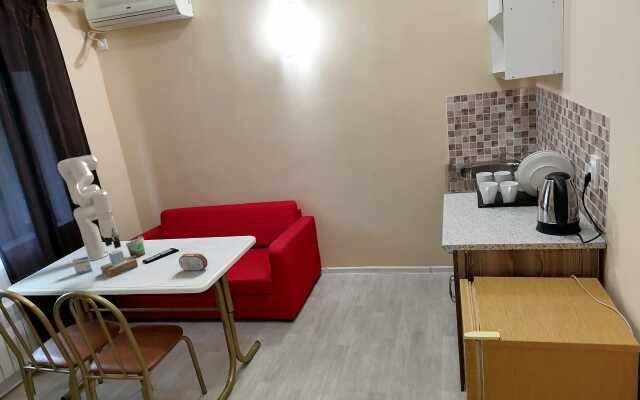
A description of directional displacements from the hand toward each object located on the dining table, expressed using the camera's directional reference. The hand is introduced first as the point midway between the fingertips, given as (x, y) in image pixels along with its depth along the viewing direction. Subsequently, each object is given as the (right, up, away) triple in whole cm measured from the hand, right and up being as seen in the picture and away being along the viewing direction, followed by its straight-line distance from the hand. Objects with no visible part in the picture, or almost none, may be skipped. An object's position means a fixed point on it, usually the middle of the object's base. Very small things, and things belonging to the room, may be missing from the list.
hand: (113, 246), depth 242 cm
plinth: (+2, -13, +3) cm, 13 cm away
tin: (+47, -10, -15) cm, 50 cm away
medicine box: (-20, -15, +9) cm, 27 cm away
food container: (+5, -8, +23) cm, 25 cm away
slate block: (+2, -9, +2) cm, 9 cm away
